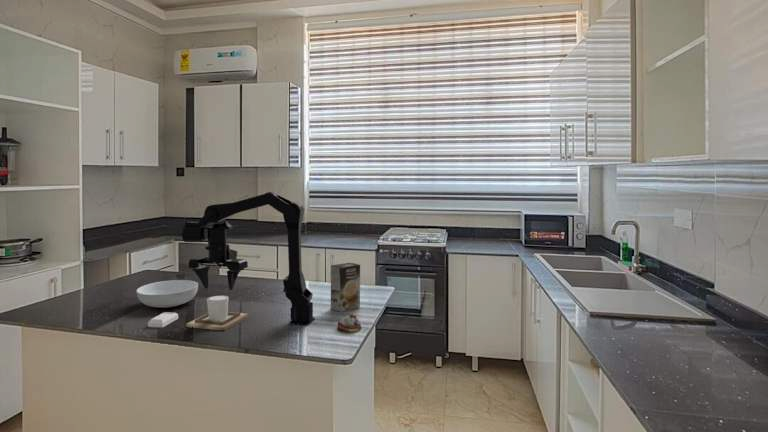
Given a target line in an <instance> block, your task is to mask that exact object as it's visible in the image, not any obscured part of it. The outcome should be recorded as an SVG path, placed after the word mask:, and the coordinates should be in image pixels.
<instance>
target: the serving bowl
mask: <svg viewBox="0 0 768 432" xmlns="http://www.w3.org/2000/svg"><path fill="white" fill-rule="evenodd" d="M198 290H199V282H198V281H197V282H196V281H194V280H188V279H174V280H173V279H172V280H163V281H156V282H152V283H148V284H143V285H142V286H140V287H138V288H137V289H136V291H135V293H136V296H137V299H138V300H139V301H140V302H141V303H142V304H143V305H145V306H147V307H150V308H151V307H152V308H161V309H166V308H167V309H169V308H174V307H178V306H180V305H183V304H186V303H188V302H190V301H191V300H192V299H194V297H195V296H196V295H197V293H198Z"/></svg>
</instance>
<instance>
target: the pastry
mask: <svg viewBox="0 0 768 432" xmlns="http://www.w3.org/2000/svg"><path fill="white" fill-rule="evenodd" d="M337 328H338V330H339V331H340V332H341V333H347V334H348V333H350V334H351V333H357V332H360V331H361V329H362V325H361V322H360V320H359V319H358V317H357V315H356V314H353V313H349V315H347V316H346V317H344V318H341V319H339V321H338V322H337Z"/></svg>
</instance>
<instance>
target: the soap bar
mask: <svg viewBox="0 0 768 432" xmlns="http://www.w3.org/2000/svg"><path fill="white" fill-rule="evenodd" d="M178 319H179V314H178V313H177V312H169V311H166V312H165V311H163V312H162V313H160V314H159V315H156V316H155V317H153V318H151V319H149V321H148V322H147V328H164V327H166V326H169V324H171V323H173V322H174V321H176V320H178Z"/></svg>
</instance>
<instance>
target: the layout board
mask: <svg viewBox="0 0 768 432" xmlns="http://www.w3.org/2000/svg"><path fill="white" fill-rule="evenodd" d="M247 318H249V313H241V312H233V311H228V315H227V319H225V320H222V321H210V320H209V313H208V312H207V313H205V314H203V315H201V316H200V317H197V318H196V319H193V320H191V321H189V322H187V323H185V327H186V328H192V327H193V329H202V330H203V329H204V330H206V329H207V330H215V331H223V330H225V331H227V330H228V329H230V328H232V327H234V326H235V325H237V324H238V323H240V322H242V321H244V320H245V319H247Z"/></svg>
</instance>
